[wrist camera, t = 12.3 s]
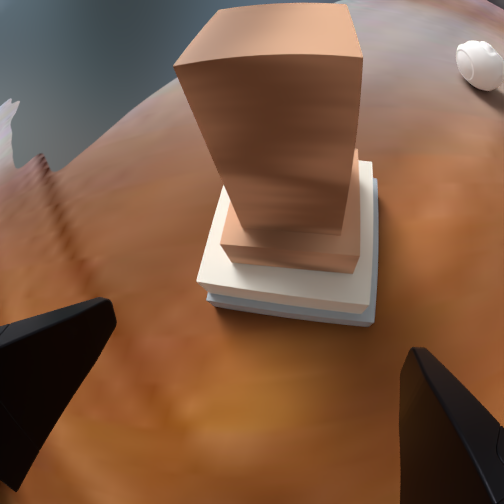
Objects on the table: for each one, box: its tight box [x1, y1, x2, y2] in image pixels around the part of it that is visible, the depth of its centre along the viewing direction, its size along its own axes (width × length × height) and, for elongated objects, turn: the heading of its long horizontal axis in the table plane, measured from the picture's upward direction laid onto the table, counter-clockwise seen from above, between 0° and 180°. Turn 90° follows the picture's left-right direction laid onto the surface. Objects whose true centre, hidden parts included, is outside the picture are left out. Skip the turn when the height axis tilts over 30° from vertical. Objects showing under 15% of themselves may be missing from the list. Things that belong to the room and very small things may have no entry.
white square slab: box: [196, 160, 373, 314], centre depth 19 cm, size 10×10×2 cm
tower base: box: [206, 178, 378, 327], centre depth 21 cm, size 11×11×2 cm
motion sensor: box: [456, 41, 504, 91], centre depth 23 cm, size 8×8×8 cm
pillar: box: [173, 3, 363, 274], centre depth 12 cm, size 7×7×12 cm
